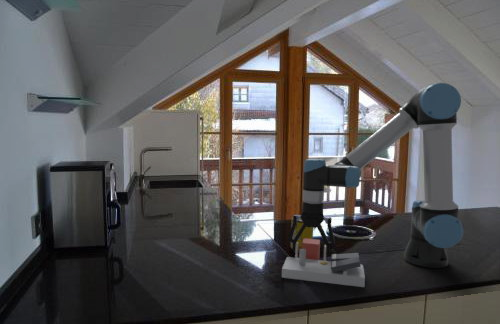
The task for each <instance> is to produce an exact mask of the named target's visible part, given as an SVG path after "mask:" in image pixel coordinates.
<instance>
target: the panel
mask: <svg viewBox="0 0 500 324" xmlns="http://www.w3.org/2000/svg"><path fill="white" fill-rule="evenodd" d="M283 263H284V264H283V265H282V268H281V278H284V279H292V280H298V281H299V280H301V281H308V282H317V283H326V284H335V285H342V286H351V287H359V288H365V286H366V285H365V283H366V282H365V281H366V275H365V269H364V265H363V264H361V263H360V266H361V267H357V268H351V269H346V270H341V271H336V272H332V270H331V260H330V261H329V260H326V261H324V260H321V259H319V260H313V259H306V250H305V249H300V251H298V258H295V256H294V257H291V256H287V257H286V259H285V261H284V262H283Z"/></svg>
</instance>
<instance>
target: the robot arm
mask: <svg viewBox="0 0 500 324" xmlns="http://www.w3.org/2000/svg"><path fill="white" fill-rule="evenodd" d="M461 97H462V96H461V94H460V92H459V91H458V89H457V88H456V87H454V86H453V85H452V84H449V83H446V82H436V83H431V84H429V85H427V86H426V87H423V88H421V89H419V90H418V91H416V93H415V94H413V96H412V97H411V98H410V99H409V100H408V101H407V102H406V103H404V105H402V106H401V107H400V108H399V110H398V113H397V114H396V115H394V116H393V117H392V118H391V119H390V120H388V121H387V122H386V123H384V124H383V125H382V126H380V128H378V129H377V130H376V131H375V132H374V133H372V134H371V135H370V136H368V137H367V138H366V139H365V140H364V141H362V142H361V143H360V144H359V145H357V146H356V147H355V148H354V149H353V150H351V151H350V152H349V153H348V154H346V155H345V157H343V158H342V159H340V160H339V161H338V162H335V163H334V164H331V165H330V164H327V163H326V160H325V159H323V158H307V159H305V160H304V163H303V177H302V178H303V180H302V181H303V183H302V187H303V188H302V202H301V203H302V205H301V214H299V215H298V214H294V215H293V216H292V217H293V225H292V228H290V232H289V235H288V237H287V242H289V243H291V242H292V243H293V248H291V250H292V253H294V254H295V255H294V258H299V251H298V243H299V242H297V240H298V239H299V237H300V235H301V234H302V232H303V231H304V229H305V228H306V226H307V227H313V229H317V230H318V231H319V233H320V236H321V238H322V240H323V242H324V245H323V261H327V256H330V247H335V245H336V241H335V236H334V232H333V227H332V226H333V225H332V219H333V218H332V217H331V216H329V217H326V216H325V215H324V200H325V199H324V197H325V187H338V188H359V186H360V180H361V170H363V168H365V167H366V166H368V164H369V163H371V162H372V161H373V160H374V159H376V158H377V157H378V156H380V155H381V154H383V153H384V152H385V151H386V150H387V149H389V148H390V147H392V145H393V144H395V143H396V142H397V141H399V140H400V139H401V138H402V137H404V136H405V135H406V134H408V133H409V132H410V131H412V129H413V130H414V129H418V128H419V129H421V130H422V139H423V140H422V145H423V147H422V148H423V149H422V150H423V181H424V182H423V183H424V184H423V186H424V189H423V191H424V200H414V201H413V202H412V205H411V206H412V207H411V217H410V220H411V222H410V237H409V241H408V243H407V245H406V248H405V250H404V252H403V253H404V255H403V259H404V260H405V262H408V263H410V264H412V265H414V266H418V267H422V268H423V267H424V268H429V269H442V268H447V267H448V265H449V256H448V254H447V253H448V252H447V249H448V248H451V247H452V248H453V247H454V246H456V245H457V244H458V243H459V242H460V241H461V240H462V238H463V237H464V226H463V225H462V222H461V220H460V219H459V205H458V204H457V203H456V202H455V201H454V196H453V195H454V194H453V193H454V186H453V180H454V179H453V143H452V142H453V140H452V138H453V137H452V132H453V131H452V129H453V128H454V127H455V126H456V125H457V120H458V119H457V117H458V115H457V113H458V111H459V110H460V108H461V104H462V98H461ZM300 218H301V220H302V221H303V223H304V224H303V225H302V227H301V229H300V230H299V232H298V233H297V235H296V237H295V238H292V237H293V233H294V230H295V227H296V224H297V221H299V219H300ZM324 221H325V224H327V229H328V231H327V232H328V235H329V238H328V237H327V234H326V232H325V230H324V229H323V226H322V223H323V222H324ZM329 240H330V241H329Z"/></svg>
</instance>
